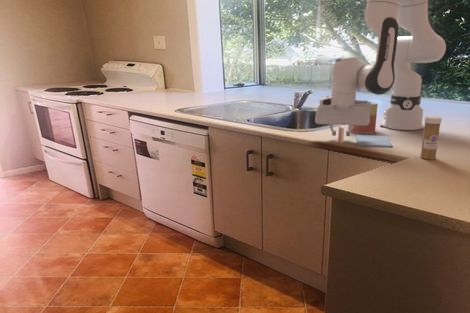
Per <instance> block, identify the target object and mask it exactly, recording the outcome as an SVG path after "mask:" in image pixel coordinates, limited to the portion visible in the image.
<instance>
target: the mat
mask: <svg viewBox="0 0 470 313" xmlns="http://www.w3.org/2000/svg"><path fill="white" fill-rule="evenodd" d="M355 141H356V145H357V146H359V147H376V148H379V147H380V148H393V147H394V146H393V145H394V144H393V143H392V142H391V140H390V138H389V137H388V135H375V134H374V135H372V134H369V135H368V134H355Z"/></svg>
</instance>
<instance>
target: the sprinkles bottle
mask: <svg viewBox="0 0 470 313" xmlns="http://www.w3.org/2000/svg"><path fill="white" fill-rule="evenodd" d="M441 123H442V117H441V116H438V115H437V116H436V115H427V116H425V117H424V125H425V127H424V128H423V132H422V141H421V152H420V156H419V157H420V158H421V159H424V160H435V159H437V149H438V145H439V136H440V129H441Z"/></svg>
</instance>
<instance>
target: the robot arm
mask: <svg viewBox="0 0 470 313" xmlns="http://www.w3.org/2000/svg"><path fill="white" fill-rule="evenodd" d="M428 3H429V0H367V1H366V7H365V10H364V22H365V24H366V26H367V27H368V28H369V29H370V30H371V31H373V32H374V33H375V34H376V37H377V48H376V56H375V62H374V63H373V64H368V63H367V62H363V61H362V60H360V59H359V58H358V57H357V56H356V55H344V56H340V57H338V58H337V59H336V60H335V61H334V65H333V70H332V85H333V86H332V90H331V94H330V95H328V96H324V97H321V98H319V105H318V106H317V108H316V112H315V119H314V122H315V123H316V124H317V125H329V129H330V131H331V136H332V137H333V136H334V137H335V136H337V130H335V129H334V125H338V126H349V125H350V129H349V131H348V130H346V131H345V132H346V133H345V136H346V137H351V133H352V132H351V131H352V130H353V128H354V125H368V124H369V123H370V114H369V112H370V111H371V109H372V104H371V103H370V102H371V101H368V100H358V99H357V98H356V96H357V95H356V94H357V91H358V90H360V91H362V92H369V93H372V94H374V95H377V96H378V95H379V96H380V95H383V94H386V93H388V92H389V91H390V90H391V89H392V94H391V96H390V102H389V103H390V104H389V106H388V107H387V108H386V110H384V111H383V119H382V121H381V122H380V125H379V126H380V127H381V126H383V127H382V128H387V127H388V129H392V130H398V131H399V130H401V131H415V130H416V131H417V130H419V129H420V130H421V129H424V127H425V124H423V116H424V115H423V114H424V109H423V108H422V107H421V101H422V98H421V97H422V96H421V92H422V91H421V89H422V81H423V79H422V76H421V75H420V74H419V73H417V72H416V71H414V70H411V68H410V67H409V66H410V64H428V63H434V62H439V61H440V60H441V59H442V58H443V57H444V55H445V53H446V49H447V44H446V41H445V39H444V37H442V36H440V35H439V34H437V32H435V31H434V30H433V28H432V26H431V24H430V22H429V14H428V10H429V4H428ZM399 27H400V28H402V29H403V30H406V31H408V32H409V34H410V35H404V36H402V35H400V36H399ZM356 99H357V100H356ZM367 103H369V104H367Z"/></svg>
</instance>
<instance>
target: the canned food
mask: <svg viewBox="0 0 470 313" xmlns="http://www.w3.org/2000/svg"><path fill="white" fill-rule="evenodd" d="M369 102H370V103H371V104H372V109H371V111H370V112H369V114H370V123H369V124H368V125H354V128H353V130H352V131H351V132H350V133H357V134H373V133H375V132H376V127H377V114H378V105H379V103H378V102H376V101H369ZM367 104H369V103H367ZM349 129H350V125H348V128H347V131H348V130H349Z"/></svg>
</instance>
